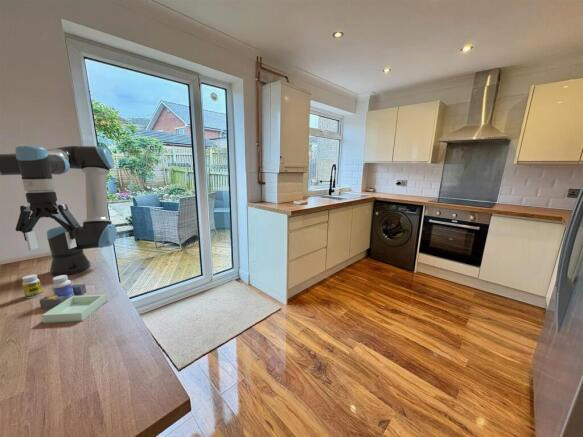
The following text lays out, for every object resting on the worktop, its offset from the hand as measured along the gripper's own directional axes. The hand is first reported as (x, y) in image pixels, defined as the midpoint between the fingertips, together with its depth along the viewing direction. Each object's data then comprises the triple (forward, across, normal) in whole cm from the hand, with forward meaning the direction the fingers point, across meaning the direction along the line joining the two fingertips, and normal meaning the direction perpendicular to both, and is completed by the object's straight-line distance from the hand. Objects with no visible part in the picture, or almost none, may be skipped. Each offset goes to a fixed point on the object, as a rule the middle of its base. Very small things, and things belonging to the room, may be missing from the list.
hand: (53, 248), depth 88 cm
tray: (+21, +12, -9) cm, 26 cm away
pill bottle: (+22, 0, 0) cm, 22 cm away
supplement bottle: (+21, -16, +5) cm, 27 cm away
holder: (+21, 0, 0) cm, 21 cm away
